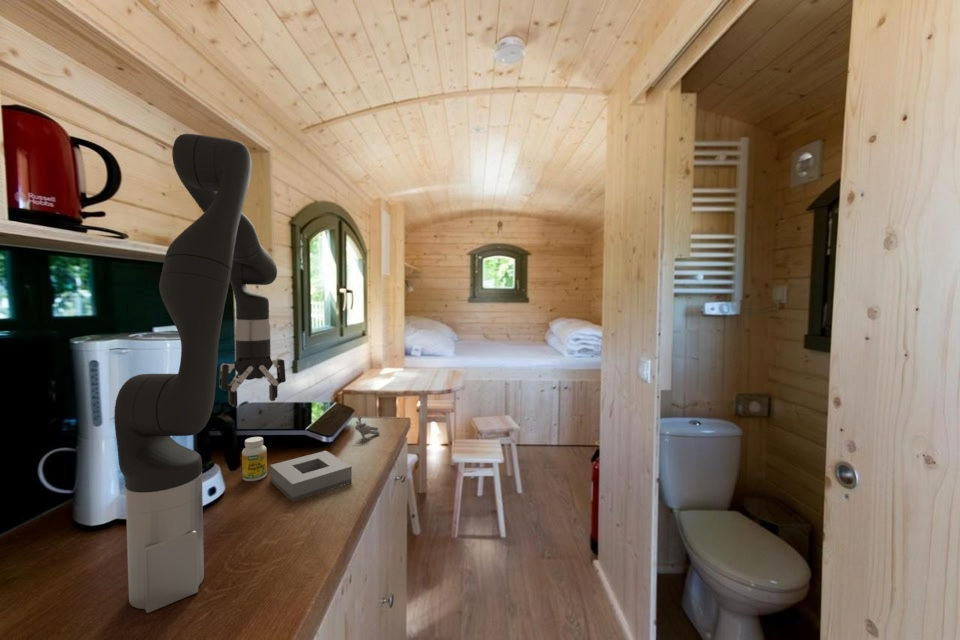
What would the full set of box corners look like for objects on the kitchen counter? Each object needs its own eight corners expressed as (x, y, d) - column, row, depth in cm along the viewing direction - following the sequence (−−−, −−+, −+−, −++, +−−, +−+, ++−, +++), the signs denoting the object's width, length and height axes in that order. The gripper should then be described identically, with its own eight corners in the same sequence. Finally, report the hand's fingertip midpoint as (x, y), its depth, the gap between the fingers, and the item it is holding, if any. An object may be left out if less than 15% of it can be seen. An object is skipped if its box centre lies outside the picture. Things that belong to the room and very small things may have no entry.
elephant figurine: (387, 439, 132) (364, 435, 125) (375, 450, 133) (352, 447, 127) (380, 413, 138) (357, 409, 131) (369, 424, 140) (346, 420, 133)
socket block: (351, 482, 100) (351, 466, 100) (292, 501, 90) (292, 484, 90) (325, 465, 110) (325, 450, 110) (270, 481, 100) (270, 465, 100)
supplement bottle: (263, 470, 106) (262, 434, 105) (269, 477, 102) (269, 439, 102) (239, 476, 102) (239, 438, 102) (245, 484, 98) (245, 444, 98)
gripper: (223, 341, 93) (225, 411, 93) (289, 337, 103) (289, 401, 104) (215, 338, 98) (216, 405, 99) (278, 334, 108) (278, 395, 109)
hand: (254, 403), depth 101 cm, fingers open, 8 cm apart
